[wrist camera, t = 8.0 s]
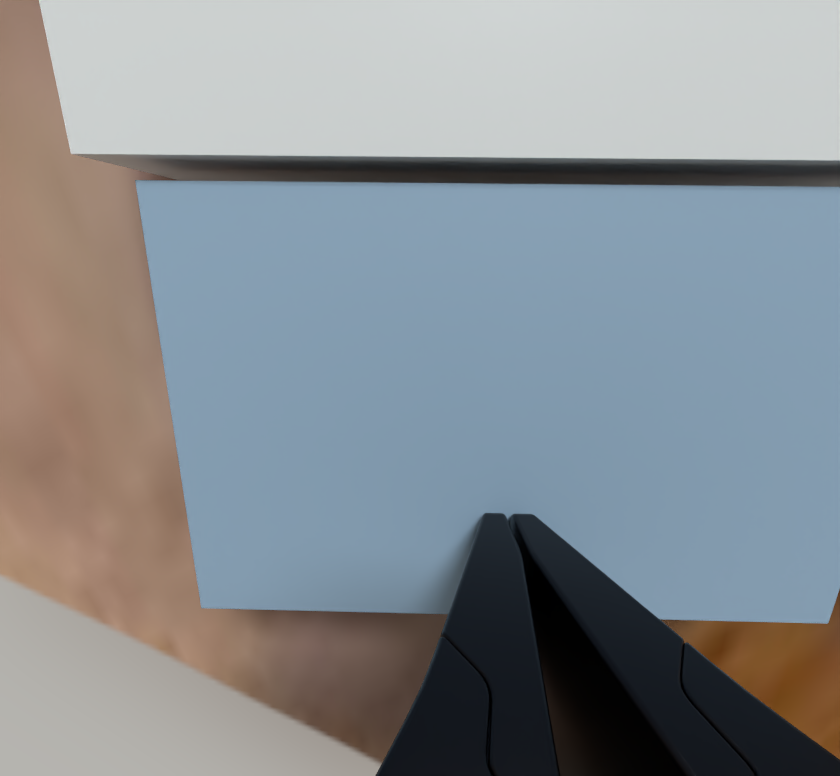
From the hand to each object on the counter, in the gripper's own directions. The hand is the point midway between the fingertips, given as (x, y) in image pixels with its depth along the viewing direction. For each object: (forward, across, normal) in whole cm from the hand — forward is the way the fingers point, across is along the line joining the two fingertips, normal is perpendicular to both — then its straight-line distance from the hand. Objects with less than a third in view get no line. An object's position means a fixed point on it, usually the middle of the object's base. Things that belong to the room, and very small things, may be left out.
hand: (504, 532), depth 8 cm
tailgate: (+1, 0, -6) cm, 6 cm away
